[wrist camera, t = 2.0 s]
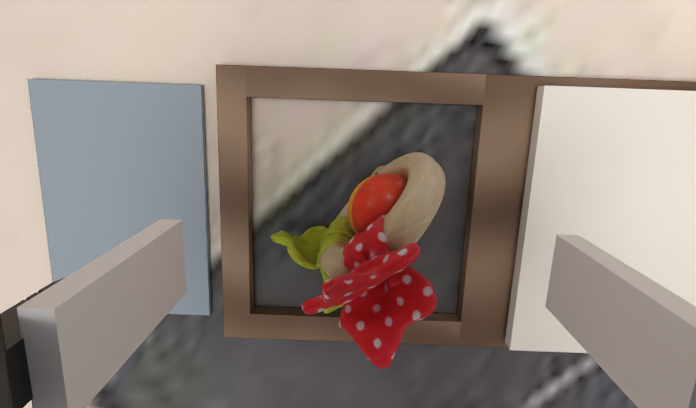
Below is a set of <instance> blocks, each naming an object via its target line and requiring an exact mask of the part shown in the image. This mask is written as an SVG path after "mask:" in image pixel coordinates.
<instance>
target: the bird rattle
mask: <svg viewBox="0 0 696 408" xmlns="http://www.w3.org/2000/svg"><path fill="white" fill-rule="evenodd" d="M445 185H446V179H445V174H444V172H443V170H442V168H441V167H440V165H439V164H438V163H437V162H436V161H435V160H434V159H433V158H432V157H431V156H429V155H427V154H425V153H420V152H414V153H409V154H406V155H403V156H401V157H399V158H397V159H395V160H393V161H391V162H390V163H388V164H387V165H385V166H378V167H377V168H376V169H375V170H374V171H373V173H372V174H371V176H370V177H368V178H366V179H365V180H363V181H362V182H361V183H360V184H358V185H357V187H356V188H355V189H354V191H353V192H352V194H351V196H350V199H349V201H348V202H347V204H346V205H345V206H344V208H343V209H342V210H341V212H340V213H339V215H338V216H337V217H336V219H335V220H334V221H333V222H332V223H331V224H330V226H329V228H327V227H325V226H314V227H311V228H309V229H307V230H306V231H305V232H304V233H303V234H302V235H301V236H300V237H298V236H295V235H292V234H290V233H288V232H286V231H283V230H281V231H279V232H277V233H275V234H273V235H272V236H271V239H272V240H273V241H274V242H275V243H278V244H281V245H283V246H286V247H287V251H288V253H289V255H290V256H291V258H292V259H293V260H294V261H295V262H296V263H297V264H299V265H301V266H303V267H305V268H308V269H318V268H320V270H321V273H322V276H323V280H324V283H323V284H322V295H320V296H317V297H314V298H311V299H308V300H306V301H305V302H304V303H303V304H302V306H301V307H302V309H303V311H304V313H305V314H308V315H312V314H317V313H320V312H321V311H323V312H324V313H330V312H332V311H334V310H336V309H338V308H340V307H342V306H343V309H342V312H341V315H340V319H339V326H340V327H341V328H343V329H344V330H345V331H346V332H347V333H348V334H349V335H350V336H351V337H352V338H353V340H354V341H355V342H356V344H357V345H358V346H359V348H360V349H361V350H362V352H363V353H364V354H365V355H366V357H367V358H368V359H369V360H370V362H371V363H372V364H374V365H375V366H376V367H378V368H381V369H384V368H388V367H389V366H390V364H391V363H392V360H393V358H394V356H395V353H396V351H397V349H398V347H399V345H400V342H401V339H402V336H403V333H404V331H405V329H406V328H407V327H408V326H409V325H410V324H412V323H413V322H415V321H418V320H422V319H424V318H426V317H428V316H429V315H431V314H432V313H433V312H434V310H435V308H436V305H437V301H438V300H437V296H436V294H435V292H434V289H433V286H432V284H431V283H430V281H429V280H428V279H426V278H425V277H424V276H423V275H421V274H420V273H419V272H417V271H416V270H415V269H413V268H411V267H409V265H410V264H412V263H413V262H414V261H415V260H416V259H417V257H418V256H419V255H420V251H421V250H420V247H419V246H418V244H416V243H417V242H418V240H419V239H420V238H421V236H422V235H423V234H424V232H425V231H426V229H427V228H428V226H429V225H430V223H431V221H432V220H433V218H434V216H435V214H436V212H437V211H438V208H439V206H440V204H441V202H442V199H443V195H444V191H445Z"/></svg>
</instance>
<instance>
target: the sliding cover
mask: <svg viewBox="0 0 696 408" xmlns="http://www.w3.org/2000/svg"><path fill="white" fill-rule="evenodd" d="M557 234H560V235H579V236H581V237H582V238H584V239H586V240H587V241H589V242H591V243H592V244H594V245H595V246H597V247H599V248H600V249H602V250H604V251H605V252H607V253H609V254H610V255H612V256H614V257H615V258H617V259H618V260H620V261H622V262H623V263H625V264H627V265H628V266H630V267H632V268H633V269H635V270H637V271H638V272H640V273H641V274H643V275H645V276H646V277H648V278H650V279H651V280H653V281H655V282H656V283H658V284H660V285H661V286H663V287H665V288H666V289H668V290H669V291H671V292H673V293H674V294H676V295H678V296H679V297H681V298H683V299H684V300H686V301H688V302H689V303H691V304H692V305H694V306H696V91H683V90H655V89H628V88H600V87H573V86H538V88H537V95H536V103H535V111H534V119H533V127H532V134H531V142H530V150H529V158H528V166H527V173H526V181H525V189H524V197H523V205H522V212H521V220H520V228H519V236H518V244H517V251H516V259H515V267H514V275H513V283H512V290H511V298H510V306H509V314H508V322H507V329H506V337H505V343H506V345H507V346H508V348H509V350H519V351H545V352H571V353H587V352H586V350H585V349H584V348H583V347H582V346H581V345H580V344H579V343H578V342H577V341H576V340H575V338H574V337H573V336H572V335H571V334H570V333H569V332H568V331H567V330H566V329H565V328H564V326H563V325H562V324H561V323H560V322H559V321H558V320H557V319H556V318H555V317H554V316H553V314H552V313H551V312H550V311H549V310H548V309H547V308H546V307H545V305H546V298H547V292H548V286H549V279H550V273H551V266H552V260H553V254H554V247H555V241H556V235H557Z"/></svg>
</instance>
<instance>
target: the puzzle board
mask: <svg viewBox="0 0 696 408" xmlns="http://www.w3.org/2000/svg"><path fill="white" fill-rule="evenodd" d="M216 86H217V119H218V151H219V184H220V216H221V249H222V281H223V313H224V337H240V338H266V339H292V340H319V341H345V342H355V341H354V340H353V338H352V337H351V336H350V335H349V334H348V333H347V332H346V331H345V330H344V329H343V328H341V327H340V326H339V319H340V315H341V312H342V309H336V310H334V311H332V312H330V313H324V312H323V311H321V312H320V313H317V314H312V315H308V314H305V313H304V311H303V309H302V308H292V307H266V306H254V286H253V214H252V142H251V97H265V98H293V99H320V100H348V101H375V102H403V103H430V104H458V105H478V106H477V116H476V126H475V136H474V146H473V156H472V166H471V176H470V187H469V197H468V207H467V217H466V227H465V237H464V247H463V257H462V267H461V277H460V287H459V297H458V307H457V314H452V313H432V314H431V315H429V316H428V317H426V318H424V319H422V320H418V321H415V322H413V323H412V324H410V325H409V326H408V327H407V328H406V329H405V331H404V333H403V336H402V339H401V342H400V344H424V345H451V346H477V347H504V348H508V346H507V345H506V343H505V337H506V329H507V322H508V314H509V306H510V298H511V290H512V283H513V275H514V267H515V259H516V251H517V244H518V236H519V228H520V220H521V212H522V205H523V197H524V189H525V181H526V173H527V166H528V158H529V150H530V142H531V134H532V127H533V119H534V111H535V103H536V95H537V88H538V86H573V87H600V88H628V89H655V90H683V91H696V82H685V81H657V80H629V79H602V78H574V77H546V76H519V75H491V74H464V73H436V72H408V71H381V70H353V69H325V68H298V67H270V66H242V65H216Z"/></svg>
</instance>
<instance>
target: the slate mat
mask: <svg viewBox="0 0 696 408" xmlns="http://www.w3.org/2000/svg"><path fill="white" fill-rule="evenodd" d="M28 87H29V95H30V103H31V111H32V119H33V128H34V136H35V144H36V152H37V160H38V168H39V176H40V184H41V192H42V200H43V208H44V216H45V224H46V232H47V240H48V249H49V257H50V265H51V273H52V281H53V282H55V281H57V280H60V279H63V278H65V277H67V276H69V275H70V274H72V273H74V272H75V271H77V270H78V269H80V268H82V267H83V266H85V265H87V264H88V263H90V262H92V261H93V260H95V259H96V258H98V257H100V256H101V255H103V254H105V253H106V252H108V251H109V250H111V249H113V248H114V247H116V246H118V245H119V244H121V243H122V242H124V241H126V240H127V239H129V238H131V237H132V236H134V235H135V234H137V233H139V232H140V231H142V230H144V229H145V228H147V227H148V226H150V225H152V224H153V223H155V222H157V221H158V220H160V219H171V220H182V224H183V242H184V259H185V277H186V293H185V294H184V296H183V297H182V298H181V299H180V300H179V301H178V302H177V304H176V305H175V306H174V307H173V308H172V309H171V310H170V312H169V313H168V314H185V315H210V314H211V313H212V304H211V277H210V250H209V223H208V196H207V170H206V143H205V116H204V89H203V85H183V84H156V83H128V82H101V81H73V80H46V79H28Z"/></svg>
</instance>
